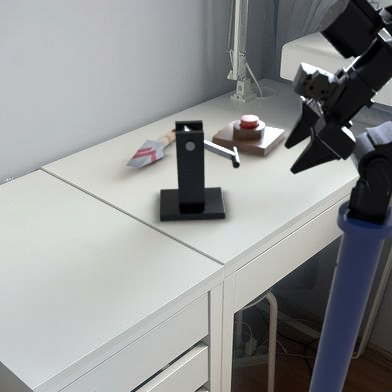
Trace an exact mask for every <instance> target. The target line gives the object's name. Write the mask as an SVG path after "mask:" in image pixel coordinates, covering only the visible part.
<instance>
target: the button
mask: <svg viewBox="0 0 392 392" xmlns="http://www.w3.org/2000/svg"><path fill="white" fill-rule="evenodd" d="M240 120H241V121H240V127H241V128H245V129H254V128H257V127H258V120H259V117H258V116H257V115H253V114H245V115H241V116H240Z"/></svg>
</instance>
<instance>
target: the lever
mask: <svg viewBox="0 0 392 392" xmlns="http://www.w3.org/2000/svg"><path fill="white" fill-rule="evenodd" d="M182 131H197V130H194V129H192V128H190V127H187V126H185V125H184V127H183V130H182ZM204 151H207V152H210V153H212V154H215V155H217V156H220V157H222V158H225V159H227V160H229V161H231V165H232V168H233V169H238V168H240V166H241V162H240V159H239V153H238V151H237V149H236V147H231V148H230V149H228V148H224V147H220V146H217V145H215V144H213V143H212V142H210V141H208V140H205V139H204Z"/></svg>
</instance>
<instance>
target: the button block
mask: <svg viewBox="0 0 392 392" xmlns="http://www.w3.org/2000/svg"><path fill="white" fill-rule="evenodd" d="M240 121H241V119H238V120H234V119H233V120H232V121H231V122H229V123H228V124H227V125H225V126H224V127H223V128H222V129H220V130H219V131H218V132H217V133H215V134H214V135H213V136H211V137H212V138H211V141H212V142H211V143H213V144H215V145H217V146H220V147H222V148H224V149H227V150H230V148H231V147H236V149H237V152H243V153H247V154H251V155H256V156H261V157H265V156H266V155H268V153H270V152H271V151H272V150H273V149H274V148H275V147H276V146H277V145H278V144H280V142H282V140H284V137H285V130H284V129H281V128H275V127H271V126H266V125H265V124H266V123H265V122H264V121H262V120H260V119H258V127H257V128H254V129H245V128H241V127H240Z"/></svg>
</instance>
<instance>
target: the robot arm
mask: <svg viewBox="0 0 392 392" xmlns="http://www.w3.org/2000/svg"><path fill="white" fill-rule="evenodd" d="M382 30H383V31H385V33H387V34H388V35H389V36H390V37H391V38H390V39H388V40H385V39H384V37H382V36H381V34H380V32H381V31H382ZM316 32H318V34H319V35H320V36H321V37H322V38H323V39H324V40H325V41H326V42H327V43H328V44H329V45H330V46H331V47H332V48H333V50H335V51H336V52H337V53H338V54H339V55H340V57H342V59H344V60H348V59H351V58H353V59H354V61H353V62H352V63H351V64H350V65H349V67H347V69H345V67H340V68H339V69H337V70H336V71H335V73H330V72H328V71H327V70H324V69H321V68H320V67H317V66H314V65H311V64H308V63H305V62H300V63H299V66H298V68H297V71H296V73H295V76H294V78H293V79H292V83H291V85H292V87H293V92H294V93H295V94H297V95H299V96H300V98H299V99H300V114H299V115H298V118H297V119H296V122H295V123H294V125H293V127H292V128H291V131H290V133H289V135H288V137H287V138H286V140H285V142H284V144H283V146H284V148H286V150H291V149H292V148H294V147H295V146H297V145H299V144H300V143H302V142H303V141H305V140H307V139H308V138H309V139H310V140H309V142H308V144H307V145H306V146H305V148H304V149H303V151H302V152H301V153H300V155H299V156H298V157H297V158H296V160H294V163H293V164H292V166H291V167H290V168H289V171H290V173H292V174H293V175H297V174H300V173H302V172H305V171H307V170H309V169H312V168H314V167H317V166H320V165H323V164H327V163H330V162H333V161H340V160H343V161H346V160H348V159H349V158H350V160H351V162H352V164H353V166H354V168H355V170H356V172H357V173H358V176H359V177H358V178H357V179H356V182H355V183H354V184H353V186H352V187H351V190H350V196H349V199H348V200H349V204H348V209H350V210H349V212H348V213H347V217H349V218H353V219H357V220H361V221H365V222H369V223H373V224H377V225H383V224H384V222H385V221H386V219H387V217H388V215H389V214H390V212H391V210H392V207H391V205H392V121H391V120H390V121H385V122H384V123H382V124H380V125H377V126H375V127H365V131H366V132H363V133H361V134H359V135H357V136H356V137H354V135H353V133H352V132H351V131H350V129H351V128H352V127H353V122H352V120H353V119H354V118H355V117H356V116H357V115H358V114H359V113H360V112H361V111H362V110H363V109H364V108H365V107H367V109H371V108H372V107H373V105H374V104H375V101H374V100H373V98H375V97H376V96H377V94H379V93H380V91H381V90H382V89H383V88H384V87H385V86H386V85H387V84H388V83H389V82H390V80H392V4H389V5H387V6H384V7H383V6H382V7H379V8H377V9H375V8H374V6H372V4H371V3H370V1H368V0H336V1H335V2H333V3H331V4H330V6H329V7H328V8H327V10H326V11H325V12H324V13H323V15H322V17H321V18H320V20H319V22H318V24H317V28H316Z"/></svg>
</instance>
